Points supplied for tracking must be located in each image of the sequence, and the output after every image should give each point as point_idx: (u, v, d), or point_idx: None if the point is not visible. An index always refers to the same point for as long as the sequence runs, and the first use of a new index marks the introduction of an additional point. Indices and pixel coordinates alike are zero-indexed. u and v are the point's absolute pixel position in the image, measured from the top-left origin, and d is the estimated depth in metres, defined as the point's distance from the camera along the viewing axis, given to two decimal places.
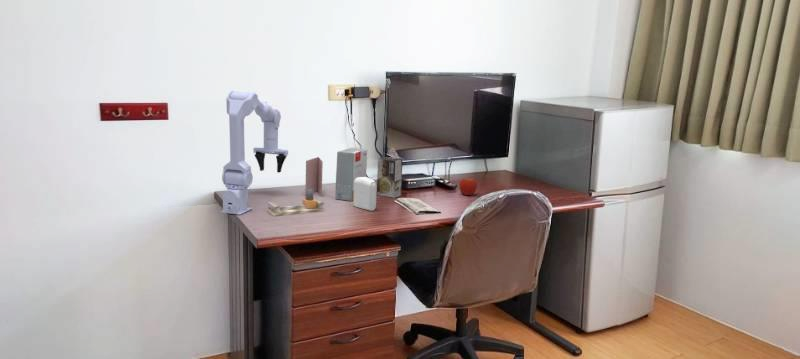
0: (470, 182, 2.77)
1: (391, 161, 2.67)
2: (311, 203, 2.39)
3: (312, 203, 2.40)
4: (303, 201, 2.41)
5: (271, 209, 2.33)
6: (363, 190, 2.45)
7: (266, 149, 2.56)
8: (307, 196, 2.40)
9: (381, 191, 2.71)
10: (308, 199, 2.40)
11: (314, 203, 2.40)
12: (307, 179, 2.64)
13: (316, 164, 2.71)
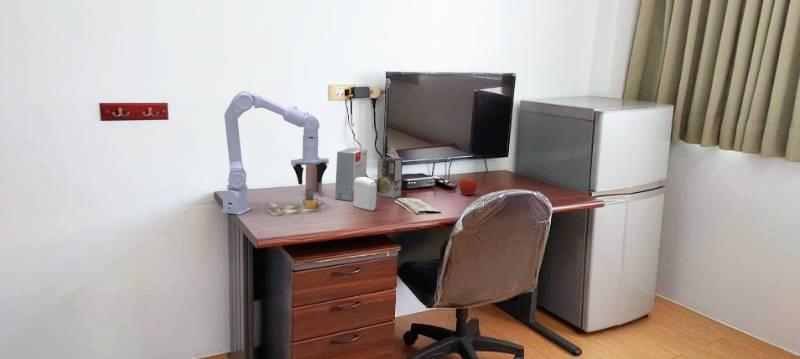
0: (470, 182, 2.77)
1: (391, 161, 2.67)
2: (311, 203, 2.39)
3: (312, 203, 2.40)
4: (303, 201, 2.41)
5: (271, 209, 2.33)
6: (363, 190, 2.45)
7: None
8: (307, 196, 2.40)
9: (381, 191, 2.71)
10: (308, 199, 2.40)
11: (314, 203, 2.40)
12: (307, 179, 2.64)
13: None
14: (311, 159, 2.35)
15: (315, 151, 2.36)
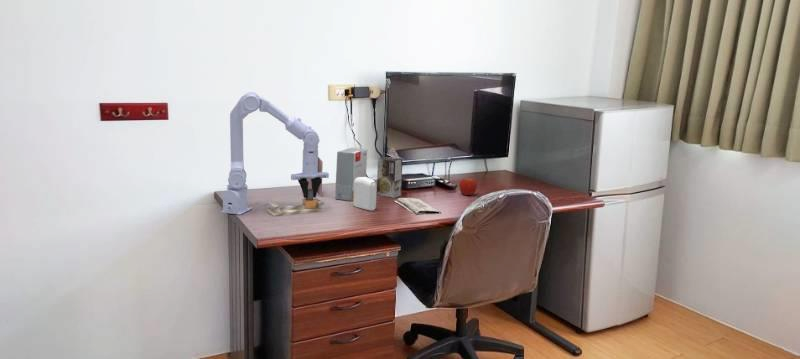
0: (470, 182, 2.77)
1: (391, 161, 2.67)
2: (311, 203, 2.39)
3: (312, 203, 2.40)
4: (303, 201, 2.41)
5: (271, 209, 2.33)
6: (363, 190, 2.45)
7: None
8: (307, 196, 2.40)
9: (381, 191, 2.71)
10: (308, 199, 2.40)
11: (314, 203, 2.40)
12: (307, 179, 2.64)
13: None
14: (311, 173, 2.36)
15: (315, 165, 2.37)
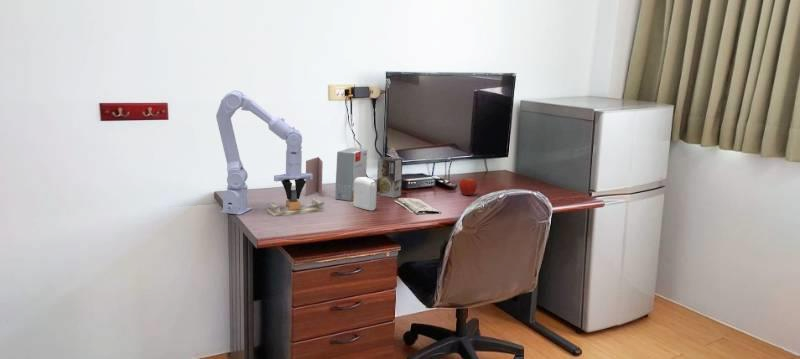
0: (470, 182, 2.77)
1: (391, 161, 2.67)
2: (295, 204, 2.36)
3: (296, 204, 2.36)
4: (287, 202, 2.38)
5: (271, 209, 2.33)
6: (363, 190, 2.45)
7: None
8: None
9: (381, 191, 2.71)
10: (291, 200, 2.36)
11: (298, 204, 2.37)
12: (307, 179, 2.64)
13: (316, 164, 2.71)
14: (294, 175, 2.33)
15: (298, 166, 2.33)
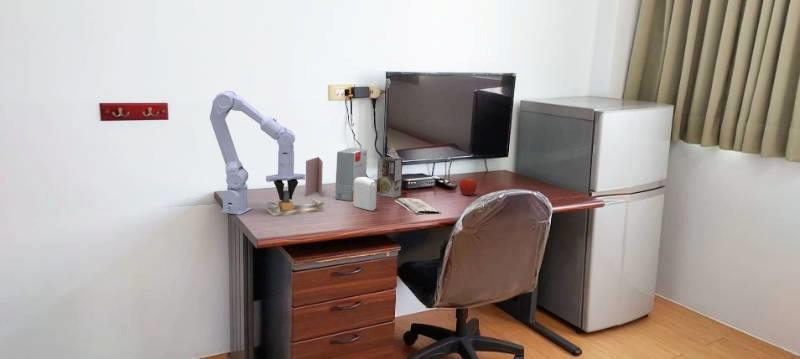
0: (470, 182, 2.77)
1: (391, 161, 2.67)
2: (287, 205, 2.34)
3: (288, 205, 2.35)
4: (279, 203, 2.36)
5: (271, 209, 2.33)
6: (363, 190, 2.45)
7: None
8: (283, 198, 2.35)
9: (381, 191, 2.71)
10: (284, 201, 2.35)
11: (290, 205, 2.35)
12: (307, 179, 2.64)
13: (316, 164, 2.71)
14: (286, 175, 2.31)
15: (291, 167, 2.32)
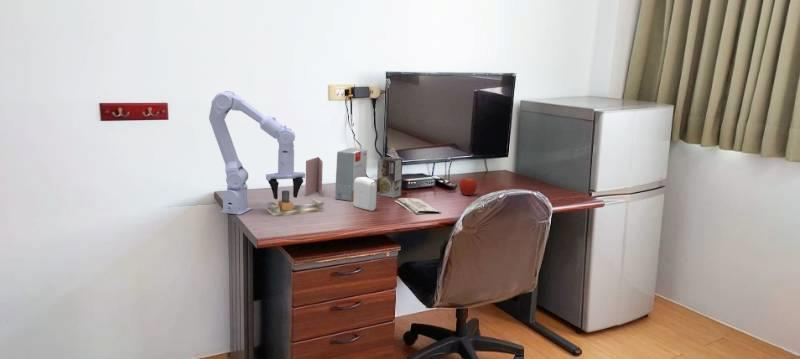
0: (470, 182, 2.77)
1: (391, 161, 2.67)
2: (287, 205, 2.34)
3: (288, 205, 2.35)
4: (279, 203, 2.36)
5: (271, 209, 2.33)
6: (363, 190, 2.45)
7: None
8: (283, 198, 2.35)
9: (381, 191, 2.71)
10: (284, 201, 2.35)
11: (290, 205, 2.35)
12: (307, 179, 2.64)
13: (316, 164, 2.71)
14: (286, 173, 2.31)
15: (291, 165, 2.32)
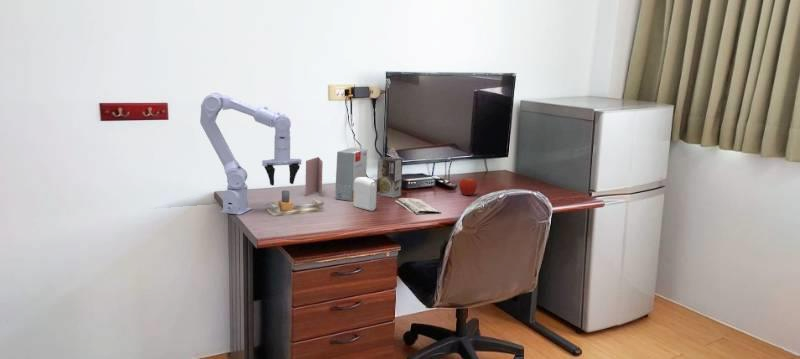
0: (470, 182, 2.77)
1: (391, 161, 2.67)
2: (287, 205, 2.34)
3: (288, 205, 2.35)
4: (279, 203, 2.36)
5: (271, 209, 2.33)
6: (363, 190, 2.45)
7: None
8: (283, 198, 2.35)
9: (381, 191, 2.71)
10: (284, 201, 2.35)
11: (290, 205, 2.35)
12: (307, 179, 2.64)
13: (316, 164, 2.71)
14: (283, 159, 2.32)
15: (287, 151, 2.32)
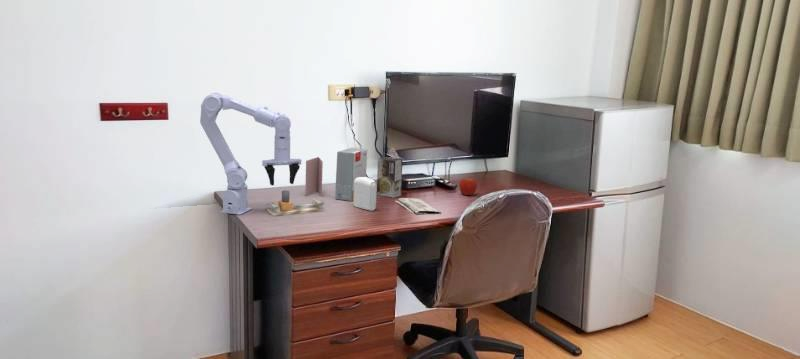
0: (470, 182, 2.77)
1: (391, 161, 2.67)
2: (287, 205, 2.34)
3: (288, 205, 2.35)
4: (279, 203, 2.36)
5: (271, 209, 2.33)
6: (363, 190, 2.45)
7: None
8: (283, 198, 2.35)
9: (381, 191, 2.71)
10: (284, 201, 2.35)
11: (290, 205, 2.35)
12: (307, 179, 2.64)
13: (316, 164, 2.71)
14: (283, 159, 2.32)
15: (287, 151, 2.32)
